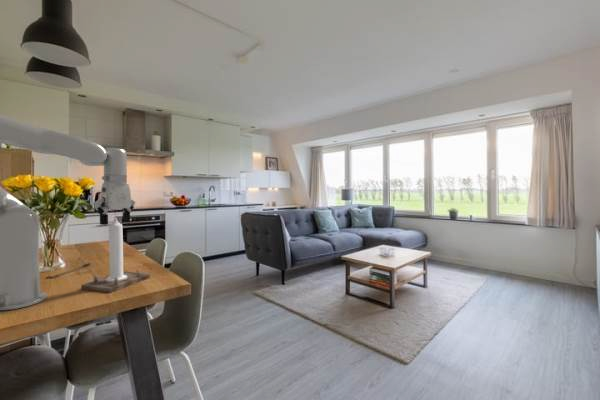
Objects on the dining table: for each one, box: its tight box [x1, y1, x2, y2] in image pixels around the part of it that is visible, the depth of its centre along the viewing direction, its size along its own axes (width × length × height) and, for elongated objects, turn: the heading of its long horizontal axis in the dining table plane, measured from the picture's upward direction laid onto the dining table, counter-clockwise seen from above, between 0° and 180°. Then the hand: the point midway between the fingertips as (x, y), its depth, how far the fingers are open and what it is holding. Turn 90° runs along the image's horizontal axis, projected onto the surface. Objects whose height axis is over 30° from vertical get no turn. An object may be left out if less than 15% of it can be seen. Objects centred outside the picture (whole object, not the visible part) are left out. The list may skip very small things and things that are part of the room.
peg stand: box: [80, 269, 151, 294], centre depth 110 cm, size 18×14×4 cm
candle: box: [106, 216, 127, 282], centre depth 109 cm, size 7×7×25 cm
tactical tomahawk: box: [46, 262, 91, 280], centre depth 125 cm, size 21×7×1 cm, turn 176°
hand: (115, 223), depth 109 cm, fingers open, 9 cm apart
